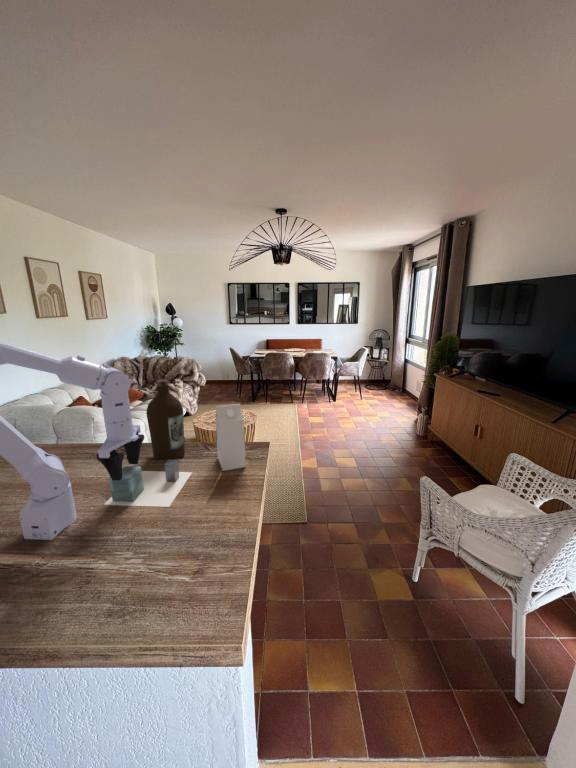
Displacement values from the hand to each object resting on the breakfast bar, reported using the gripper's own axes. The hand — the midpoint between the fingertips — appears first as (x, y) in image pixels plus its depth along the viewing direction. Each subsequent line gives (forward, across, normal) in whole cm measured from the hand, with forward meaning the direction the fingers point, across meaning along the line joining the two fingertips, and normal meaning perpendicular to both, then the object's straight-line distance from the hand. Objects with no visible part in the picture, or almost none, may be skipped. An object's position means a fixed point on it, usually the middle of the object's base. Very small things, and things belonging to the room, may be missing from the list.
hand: (125, 471), depth 80 cm
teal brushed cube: (+7, 0, 0) cm, 7 cm away
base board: (+8, +4, -4) cm, 10 cm away
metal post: (+8, +8, -8) cm, 14 cm away
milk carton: (+8, +19, -21) cm, 30 cm away
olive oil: (+8, +23, 0) cm, 25 cm away
